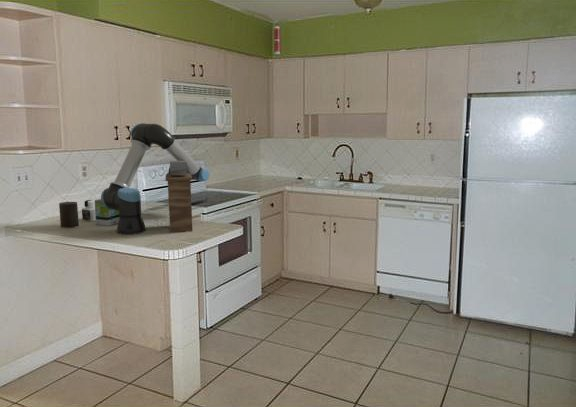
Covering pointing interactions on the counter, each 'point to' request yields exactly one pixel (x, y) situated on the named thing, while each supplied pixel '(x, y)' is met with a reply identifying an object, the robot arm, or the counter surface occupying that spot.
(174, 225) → the pedestal
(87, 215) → the medicine bottle
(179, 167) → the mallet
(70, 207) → the pillar candle
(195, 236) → the counter surface
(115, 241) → the counter surface
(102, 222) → the tea box
